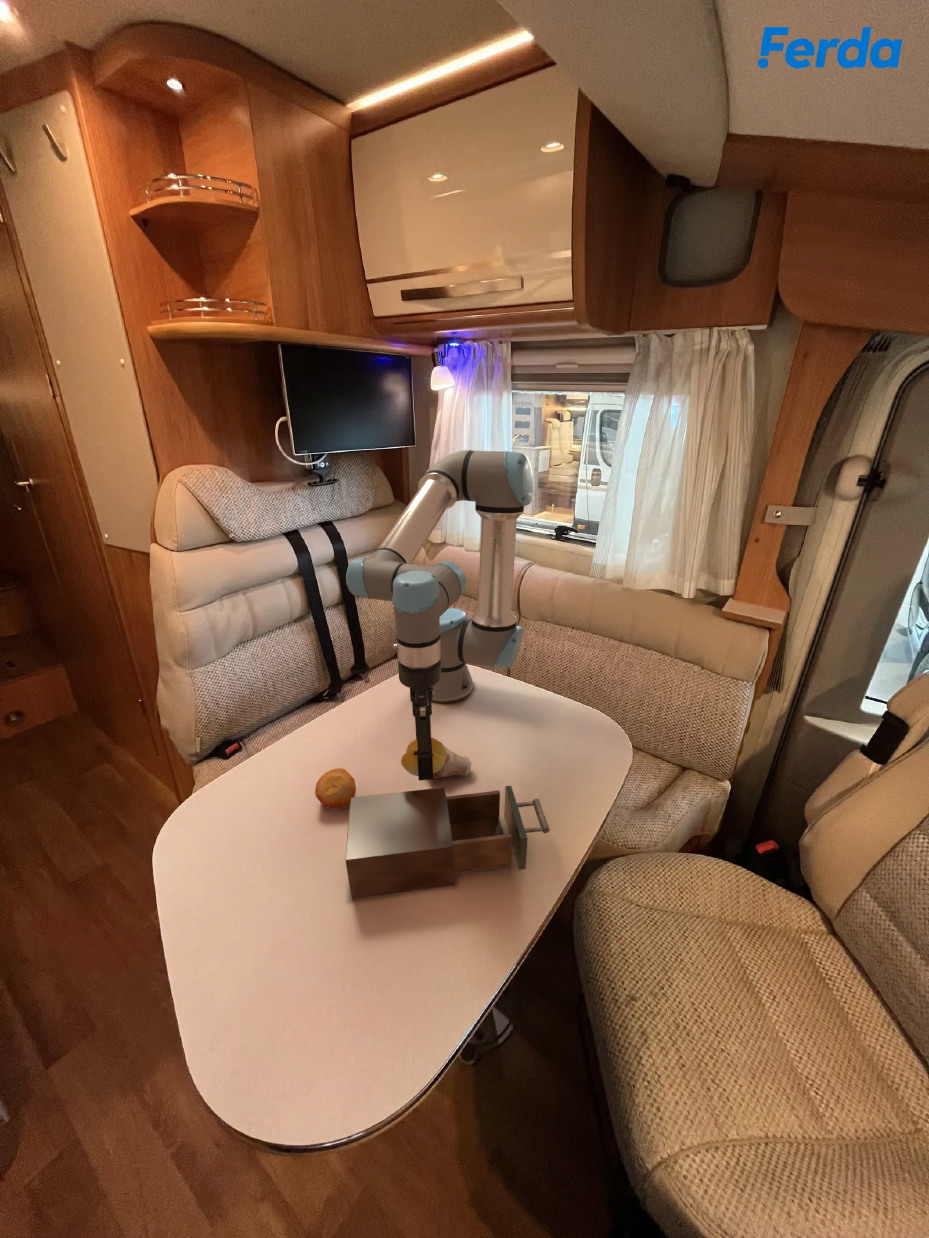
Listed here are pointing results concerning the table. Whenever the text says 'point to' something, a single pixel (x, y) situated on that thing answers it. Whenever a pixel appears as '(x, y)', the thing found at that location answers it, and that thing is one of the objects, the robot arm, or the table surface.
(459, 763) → the spotted paper cup
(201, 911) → the table surface
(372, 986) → the table surface
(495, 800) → the drawer
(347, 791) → the fruit
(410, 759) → the bread roll
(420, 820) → the cabinet
